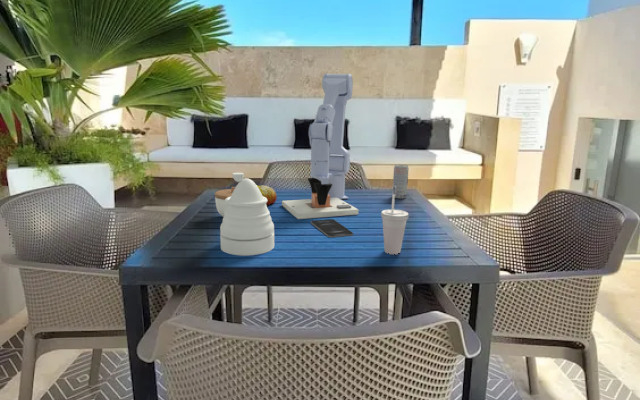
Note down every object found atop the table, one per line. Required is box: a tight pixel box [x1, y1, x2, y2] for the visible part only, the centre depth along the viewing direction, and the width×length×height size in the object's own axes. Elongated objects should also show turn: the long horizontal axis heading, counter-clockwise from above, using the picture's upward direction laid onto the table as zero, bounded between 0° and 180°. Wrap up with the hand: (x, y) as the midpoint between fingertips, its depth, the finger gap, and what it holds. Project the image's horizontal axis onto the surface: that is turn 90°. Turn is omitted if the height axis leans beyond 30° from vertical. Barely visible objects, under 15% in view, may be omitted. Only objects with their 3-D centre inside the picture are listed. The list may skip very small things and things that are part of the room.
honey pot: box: [219, 172, 275, 256], centre depth 103 cm, size 13×13×18 cm
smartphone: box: [310, 218, 354, 239], centre depth 120 cm, size 8×1×15 cm
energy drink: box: [391, 164, 409, 200], centre depth 161 cm, size 5×5×12 cm
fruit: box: [256, 184, 278, 206], centre depth 148 cm, size 11×10×8 cm
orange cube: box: [311, 192, 330, 208], centre depth 141 cm, size 5×5×5 cm
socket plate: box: [281, 197, 360, 220], centre depth 141 cm, size 18×20×2 cm
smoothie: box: [380, 194, 410, 255], centre depth 101 cm, size 6×6×14 cm
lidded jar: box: [214, 186, 236, 219], centre depth 129 cm, size 11×11×9 cm
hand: (319, 202), depth 140 cm, fingers open, 7 cm apart
